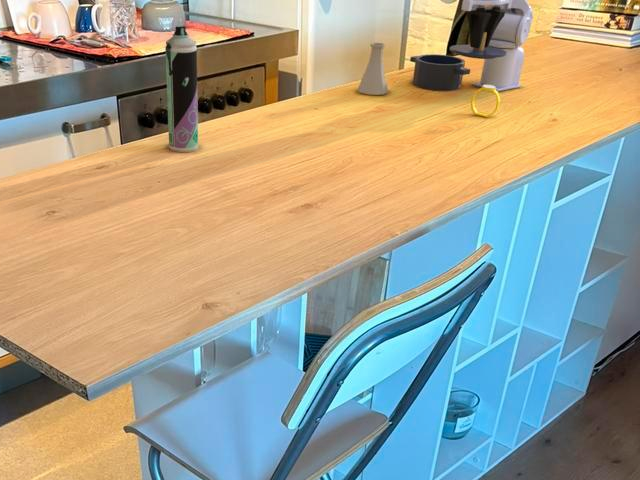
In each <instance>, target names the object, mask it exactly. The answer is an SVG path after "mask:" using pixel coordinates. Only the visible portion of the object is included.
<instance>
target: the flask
mask: <svg viewBox="0 0 640 480" xmlns="http://www.w3.org/2000/svg"><path fill="white" fill-rule="evenodd" d="M385 47H386V44H385V43H384V42H371V43H370V48H371V50H370V51H371V52H370V56H369V59H368V63H367V65H366V69H365V71H364V73H363V75H362V77H361V80H360V83H359V85H358V87H357V91H358V93H360V94H365V95H370V96H371V95H373V96H376V95H377V96H379V95H380V96H381V95H382V96H383V95H385V94H387V93H389V90H388V85H387V84H388V83H387V79H386V75H385V68H384V58H383V53H384V48H385Z"/></svg>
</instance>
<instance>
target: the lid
mask: <svg viewBox="0 0 640 480" xmlns="http://www.w3.org/2000/svg"><path fill="white" fill-rule="evenodd" d="M486 36H487V32H484V33H483V38H482V41H481V45H480V47H479V48H473V47H470V44H455V45H451V46H450V47H449V51H450V52H452V53H454V54H457V55H459V56H461V57H465V58H470V59H479V60H484V59H494V58H497V57H504V56H506V54H507V52H506V51H504V50H502V49H498V48H493V47H484V46H485V41H486Z"/></svg>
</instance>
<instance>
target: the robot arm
mask: <svg viewBox="0 0 640 480" xmlns="http://www.w3.org/2000/svg"><path fill="white" fill-rule="evenodd" d="M461 11H464V12H465V15H466V19H467V21H468V22H467V23H468V27H469V45H470V47H473V48H479V47H480V45H481V41H482V38H483V33H484V32H487V36H486V41H485V46H484V47H493V48H498V49H502V50H504V51H506V52H507V54H506V56H504V57H497V58H494V59H483V64H482V70H481V74H480V80H479V81H475V82H472V83H471V85H472V86H474V87H478V88H482V86H483V85H493V86H495V87H496V88H495V90H496V91H497V92H503V91H508V90H512V89H516V88H521V87H522V84H520V80H521V74H522V70H523V65H524V61H525V52H524V49H523V47H522V46H523V44H525V43H526V41H527V39H528V37H529V34H530V31H531V25H532V22H533V19H534V13H533V9H532V7H531V5H530V3H529V2H528V0H462V4H461Z"/></svg>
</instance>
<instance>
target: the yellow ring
mask: <svg viewBox="0 0 640 480" xmlns="http://www.w3.org/2000/svg"><path fill="white" fill-rule="evenodd" d="M495 88H496V87H495V86H493V85H483V86H482V87H479V89H477V90H476V91H475V92H474V93H473V95H472V96H471V100H470V108H471V111H472V113H473V115H475V116H480V117H484V118H490V117H491V116H493V115H495V113H496V112H497V111H498V110H499V108H500V104H501V97H500V93H499V91H496V90H495ZM481 91H484V92H492V93H493V94H494V96H495V99H496V104H495V108H494V110H493V111H492V112H491V113H489V114H487V113H483V112H479V111H478V109H477V108H476V107H475V106H476V105H475V99H476V96H477V95H478V94H479V93H480V92H481Z"/></svg>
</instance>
